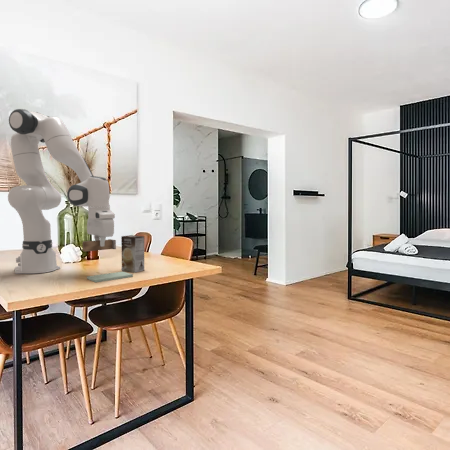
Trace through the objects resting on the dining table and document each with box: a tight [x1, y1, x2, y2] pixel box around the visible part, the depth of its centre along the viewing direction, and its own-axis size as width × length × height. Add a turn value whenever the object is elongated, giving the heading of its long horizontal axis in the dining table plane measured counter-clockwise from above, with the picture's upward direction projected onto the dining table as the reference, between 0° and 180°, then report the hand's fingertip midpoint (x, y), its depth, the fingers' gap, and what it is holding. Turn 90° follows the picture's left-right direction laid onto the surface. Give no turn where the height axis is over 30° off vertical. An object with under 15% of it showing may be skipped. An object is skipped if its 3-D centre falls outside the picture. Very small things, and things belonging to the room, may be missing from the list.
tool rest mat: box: [86, 271, 134, 283], centre depth 149 cm, size 9×16×1 cm, turn 132°
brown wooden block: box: [82, 238, 117, 252], centre depth 154 cm, size 13×6×4 cm, turn 132°
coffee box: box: [120, 234, 145, 273], centre depth 165 cm, size 9×6×16 cm
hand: (100, 246), depth 154 cm, fingers closed on brown wooden block, 2 cm apart
